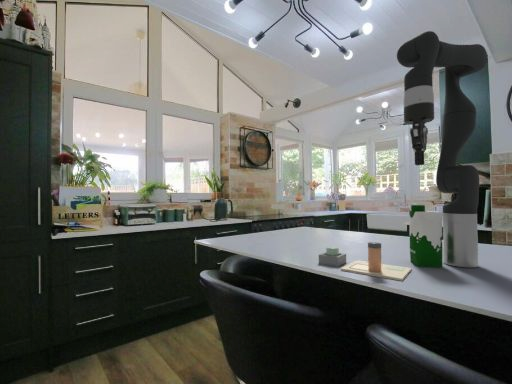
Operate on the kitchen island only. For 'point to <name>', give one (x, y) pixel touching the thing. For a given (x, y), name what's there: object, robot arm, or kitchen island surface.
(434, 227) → the milk carton
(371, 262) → the orange jar
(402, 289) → the kitchen island surface
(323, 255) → the button base
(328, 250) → the button
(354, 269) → the sheet
